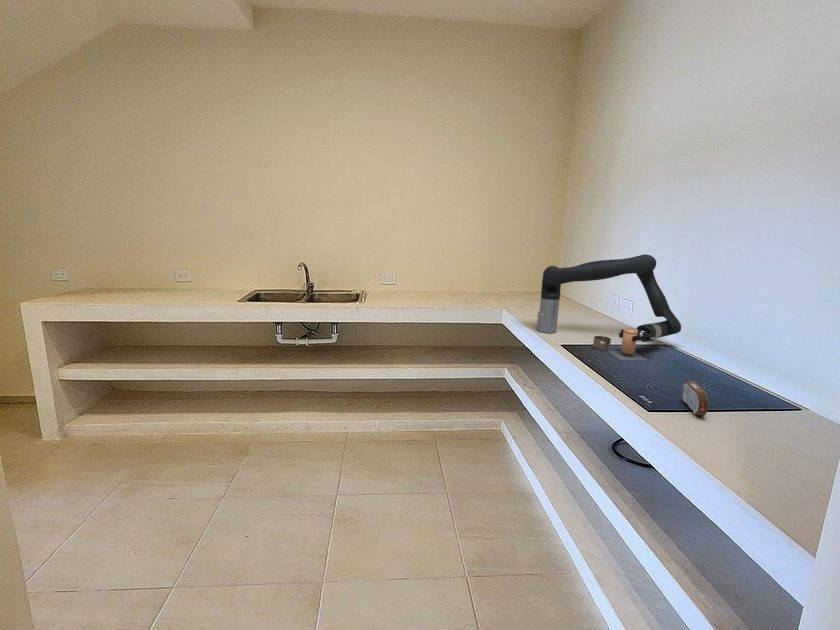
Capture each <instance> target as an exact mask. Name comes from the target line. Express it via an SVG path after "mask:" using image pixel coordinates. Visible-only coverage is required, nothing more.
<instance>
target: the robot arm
mask: <svg viewBox="0 0 840 630" xmlns="http://www.w3.org/2000/svg"><path fill="white" fill-rule="evenodd" d="M656 266H657V260H656V258H655V257H654V256H652V255H650V254H646V253H645V254H641V255H635V256H633V257H632V256H631V257H627V258H619V259H603V260H594V261H589V262H585V263H580V264H578V265H574V266H569V267H558V266H556V265H549V266H547V267H546V268H545V269H544V270H543V273H542V278H541V279H542V282H541V290H540V303H539V311H537V318H536V319H537V321H536V331H538V332H539V333H544V334H555V333H557V327H558V319H559V309H560V302H561V301H560V300H561V286H562V285H563V284H568V283H569V284H570V283H573V282H574V283H575V282H588V281H590V282H591V281H600V280H608V279H612V278H615V277H619V276H622V275H629V274H631V275H632V274H636V276H637V278H638V279H639V281H640V283H641V285H642V287H643V289H644V292H645V294H646V296H647V299H648V302H649V304H650V306H651V307H650V308H651V309H652V311H653V315H654V316H655V317H656V318H662V317H663V318H664V319H665V320H664V321H663V320H662V321H659V322H651V323H646V324H641V325H638V326H637V327H636V328H635V329H636V330H638V334H637V336H633V337H632V341H636V342H638V341H639V342H644V343H647V342H655V340H656V339H660V338H663V337H664V338H665V337H669V336H671V335H675V334H678V333H681V331H682V324H681V322H680V320H679V318H677V317H676V315H675V314H674V312H673V311H672V309H671V308H670V305H669V303H668V300H667V298H666V295H665V294H664V292H663V291H662V288H661V287H660V286H659V285H658V282H657V280H656V276H655V273H654V270H655V269H656ZM623 330H624V328H623V329H621V330H620V332H619V333H618V337H619V339H623Z"/></svg>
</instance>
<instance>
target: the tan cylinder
mask: <svg viewBox="0 0 840 630" xmlns="http://www.w3.org/2000/svg"><path fill="white" fill-rule="evenodd" d="M623 329H624V330H623V338H621V339H622V341H621V345H620V346H621V347H620V351H621V352H623V353H627V354H634V353H636V349H637V341H632V337H633V336H637V334H638V330H636V328H632V327H624V328H623Z"/></svg>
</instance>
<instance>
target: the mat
mask: <svg viewBox="0 0 840 630" xmlns="http://www.w3.org/2000/svg"><path fill="white" fill-rule="evenodd" d="M607 353H609V354H610V355H611V356H612V357H614V358H616V359H617V360H618V361H619V362H623V361H624V362H625V361H626V362H627V361H629V362H648V359H647V358H645V357H644V356H642V355H640V354H639V353H637V352H635V353H634V354H627V353H623V352H621V350H607Z"/></svg>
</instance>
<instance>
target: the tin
mask: <svg viewBox="0 0 840 630" xmlns="http://www.w3.org/2000/svg"><path fill="white" fill-rule="evenodd" d="M682 385H683V386H682V394H681V397H682V401H683V403H684V402H686V403H687V404H688V406H689V407H690V408H691V409H692V410H693V412H694V413H695V416H702V415H703V416H705V415H707V412H708V409H709V400H708V395H707V392H706V391H705V390H704V389H703V388H702V386H700V385H699V383H697V382H696V381H695V380H693V381H690V380H687V381H684V382H683V384H682ZM703 416H702V417H703Z"/></svg>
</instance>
